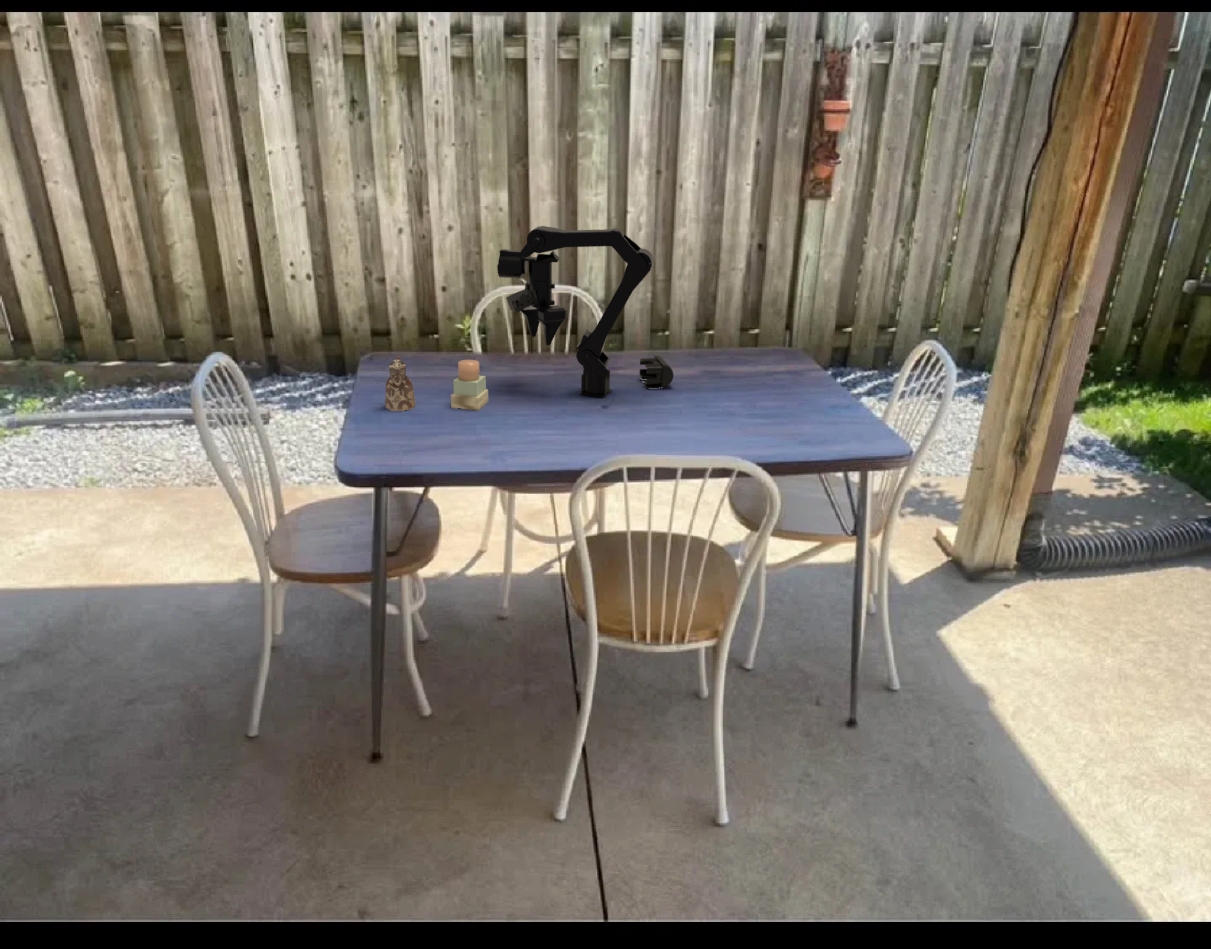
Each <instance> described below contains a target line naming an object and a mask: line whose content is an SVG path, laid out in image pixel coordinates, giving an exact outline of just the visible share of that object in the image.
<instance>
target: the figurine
mask: <svg viewBox="0 0 1211 949" xmlns="http://www.w3.org/2000/svg"><path fill="white" fill-rule="evenodd" d="M389 363H390V364H389V366H388V370H389V377H388V378H387V380H386V383H385V397H384V398H385V399H384V406H385V409H387V408H388V409H390V410H389V411H391V412H393V411H402V412H405V411H404V410H409V411H411V410H410V409H412V410H414V409H415V408H414V407H416V397H415V389H414V384H413V383H412V380H411V379H410V377H408V375H407V368H406V367H407V364H405V362H404V361H403V360H402V358H401V356H396V358H395V359H393V360H392V361H390V362H389ZM413 408H414V409H413ZM388 409H387V410H388Z"/></svg>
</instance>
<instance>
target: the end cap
mask: <svg viewBox="0 0 1211 949" xmlns="http://www.w3.org/2000/svg"><path fill="white" fill-rule="evenodd" d="M639 365H640V366H645V368H640V369H639V378H642V379H647V380H641V381H644V382H645V383H643V384H644V385H645V387H646V388H659V387H660V388H661V387H665V388H666V387H668V386H670V385H671V383H672V381H673V379H674V371H673V369H672V367H671V366H669V364H668V363H667V362H666V361H665V360H664V358H663V357H661V356H660V355H655V354H654V356H653V357H652V358H651V357H650V358H649V357H646V358H639ZM641 381H640V382H641ZM643 384H642V385H643ZM644 385H643V386H644ZM645 387H644V388H645ZM646 388H645V389H646Z"/></svg>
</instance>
